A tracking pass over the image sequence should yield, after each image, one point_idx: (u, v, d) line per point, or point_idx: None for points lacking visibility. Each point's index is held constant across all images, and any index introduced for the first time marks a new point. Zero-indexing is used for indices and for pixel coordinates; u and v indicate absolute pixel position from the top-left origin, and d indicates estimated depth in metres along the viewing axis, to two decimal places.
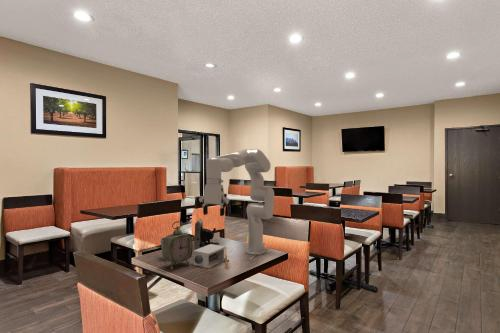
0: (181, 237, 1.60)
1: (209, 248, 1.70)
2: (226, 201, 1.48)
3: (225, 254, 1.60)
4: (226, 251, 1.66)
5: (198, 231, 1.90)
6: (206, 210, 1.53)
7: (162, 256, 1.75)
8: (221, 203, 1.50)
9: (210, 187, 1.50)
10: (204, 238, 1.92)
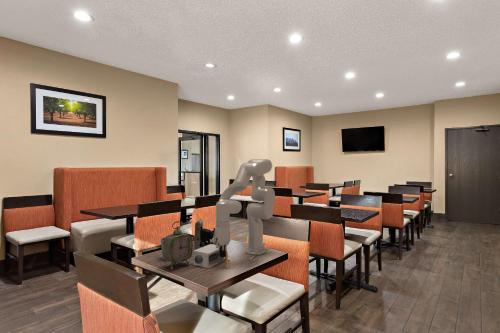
0: (181, 237, 1.60)
1: (209, 248, 1.70)
2: (227, 243, 1.66)
3: (226, 254, 1.60)
4: (226, 251, 1.66)
5: (198, 231, 1.90)
6: None
7: (162, 256, 1.75)
8: None
9: (225, 229, 1.61)
10: (204, 238, 1.92)
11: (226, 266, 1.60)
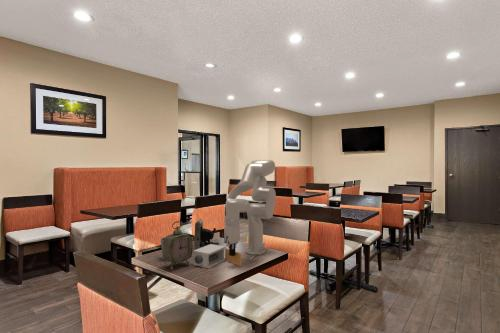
0: (181, 237, 1.60)
1: (209, 248, 1.70)
2: (237, 242, 1.67)
3: (238, 253, 1.63)
4: None
5: (198, 231, 1.90)
6: None
7: (162, 256, 1.75)
8: (233, 243, 1.66)
9: (235, 227, 1.62)
10: (204, 238, 1.92)
11: (238, 264, 1.63)
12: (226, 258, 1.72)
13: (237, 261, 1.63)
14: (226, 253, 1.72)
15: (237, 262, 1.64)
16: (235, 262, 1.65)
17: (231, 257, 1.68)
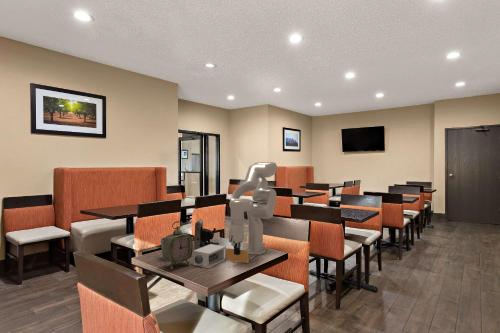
0: (181, 237, 1.60)
1: (209, 248, 1.70)
2: (241, 241, 1.70)
3: (244, 250, 1.68)
4: None
5: (198, 231, 1.90)
6: None
7: (162, 256, 1.75)
8: None
9: (240, 227, 1.65)
10: (204, 238, 1.92)
11: (245, 261, 1.68)
12: (227, 258, 1.72)
13: (243, 258, 1.68)
14: (227, 253, 1.72)
15: (243, 259, 1.68)
16: (240, 260, 1.69)
17: (235, 256, 1.70)
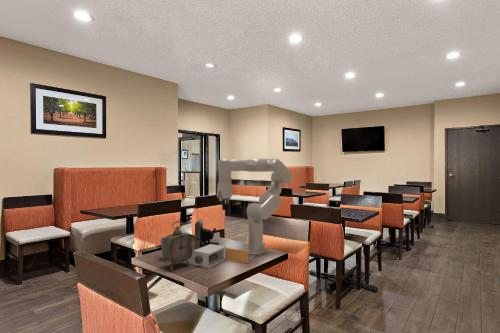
0: (181, 237, 1.60)
1: (209, 248, 1.70)
2: (229, 198, 1.81)
3: (244, 250, 1.68)
4: (236, 249, 1.70)
5: (198, 231, 1.90)
6: None
7: (162, 256, 1.75)
8: (226, 198, 1.79)
9: (227, 184, 1.76)
10: (204, 238, 1.92)
11: (245, 261, 1.68)
12: (227, 258, 1.72)
13: (243, 258, 1.68)
14: (227, 253, 1.72)
15: (243, 259, 1.68)
16: (240, 260, 1.69)
17: (235, 256, 1.70)
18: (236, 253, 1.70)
